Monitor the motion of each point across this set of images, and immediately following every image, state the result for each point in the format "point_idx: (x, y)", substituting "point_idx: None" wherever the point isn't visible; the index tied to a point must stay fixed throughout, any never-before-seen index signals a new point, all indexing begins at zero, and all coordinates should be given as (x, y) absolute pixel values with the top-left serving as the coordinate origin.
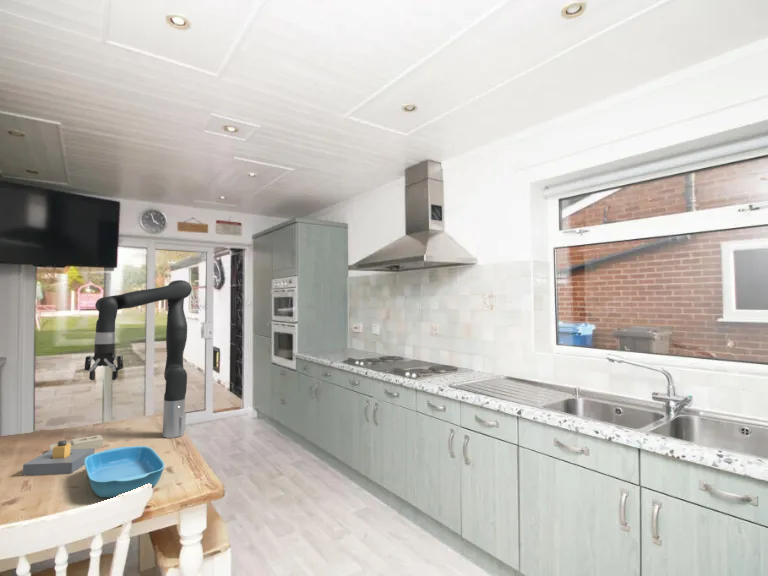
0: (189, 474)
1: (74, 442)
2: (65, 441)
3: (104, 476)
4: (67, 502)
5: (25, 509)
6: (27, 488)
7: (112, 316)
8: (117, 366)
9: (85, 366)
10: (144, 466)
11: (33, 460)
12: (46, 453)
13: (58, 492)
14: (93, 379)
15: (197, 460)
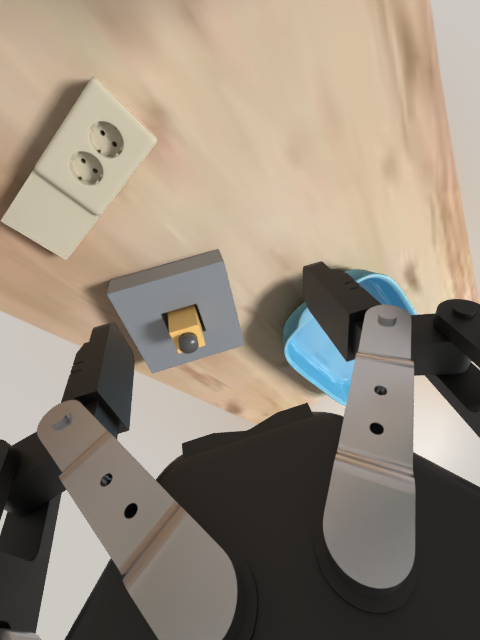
0: (446, 291)
1: (93, 209)
2: (197, 344)
3: (316, 337)
4: (306, 393)
5: (269, 414)
6: (215, 383)
7: None
8: (444, 395)
9: (20, 542)
10: (368, 289)
11: (148, 354)
12: (127, 317)
13: (274, 380)
14: (123, 342)
15: (462, 222)
